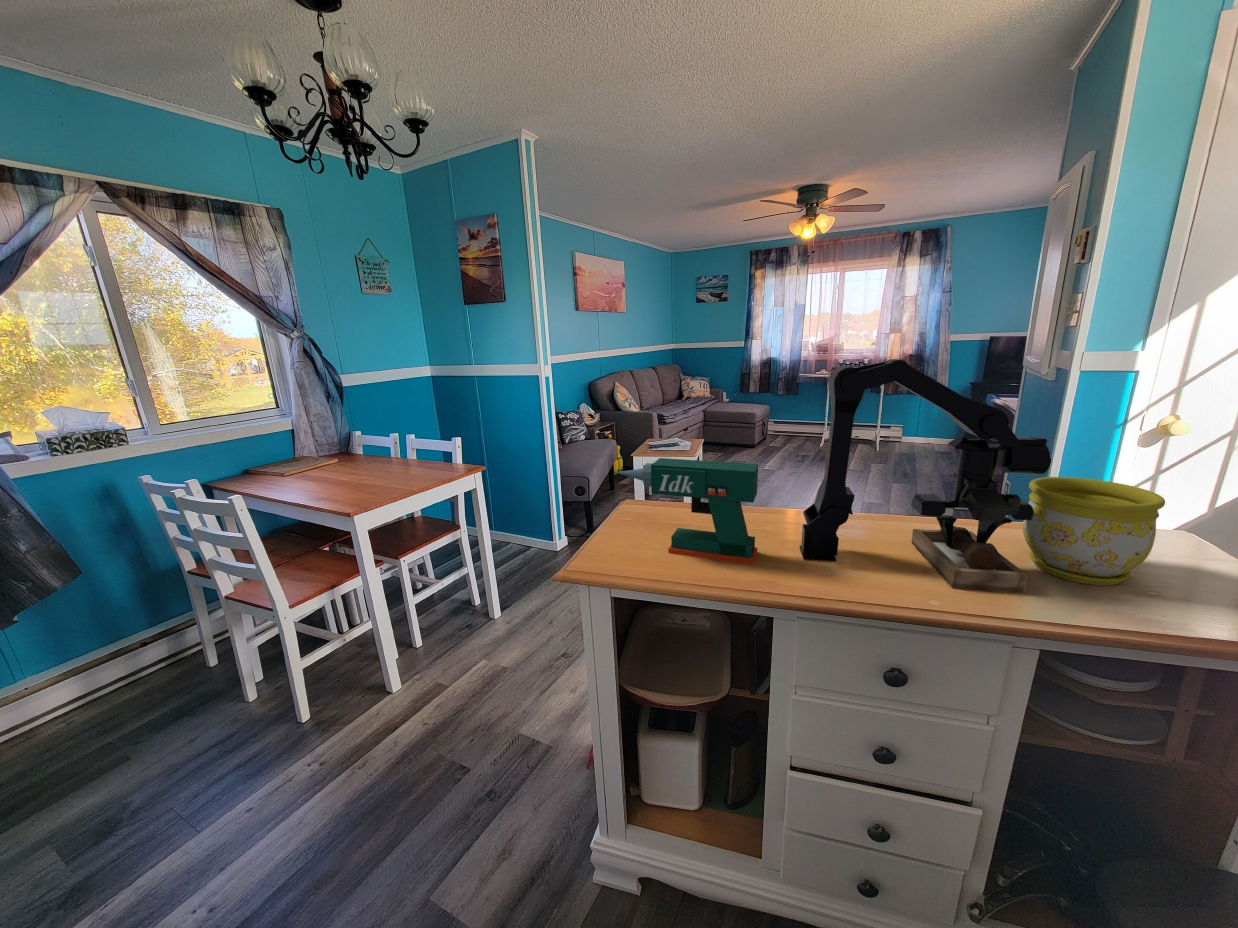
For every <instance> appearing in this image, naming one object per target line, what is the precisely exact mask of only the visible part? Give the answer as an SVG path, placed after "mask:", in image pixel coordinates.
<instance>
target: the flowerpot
mask: <svg viewBox="0 0 1238 928" xmlns="http://www.w3.org/2000/svg"><path fill="white" fill-rule="evenodd" d="M1028 487H1029V489H1030V490H1031V493H1030V494H1029V495H1028V498H1029V501H1028V502H1027V503H1028V504H1030V505H1031V506H1032V507H1033V510H1034V514H1033V519H1032V520H1022V521H1023V522H1022V534H1023V537H1024V540H1025V542H1026V545H1027V546H1028V548H1029V549H1030V551H1029V552H1028V555H1027V556H1028V557H1029V558H1030V560H1031V561H1032V562H1033V564H1034V565H1035V567H1037V568H1039V570H1042V571H1043V572H1045V573H1047V574H1050V575H1052V576H1054V577H1057V578H1061V579H1063V580H1067V581H1071V582H1074V583H1080V584H1084V585H1085V584H1086V585H1092V586H1115V585H1118V584H1120V583H1122V582H1124V581H1127V580H1129V579H1130V578H1131V572H1130V571H1133V570H1134V569H1136V568H1137V567H1139V566H1140V565H1141V564H1142V563H1143V562H1145V561H1146V559H1147V558H1148V557H1149V555H1150V553H1151V552H1152V550H1153V546H1154V543H1155V541H1156V533H1157V519H1158V518H1159V516H1160V514H1159V512H1158V511H1159V510H1160V509H1163V507H1165V505H1166V499H1165V497H1163V496H1161V495H1159V494H1158V493H1156V492H1154V491H1151V490H1148V489H1144V488H1141V487H1137V486H1134V485H1130V484H1124V483H1119V482H1114V481H1107V480H1103V479H1102V480H1101V479H1092V478H1086V477H1085V478H1083V477H1070V476H1048V477H1046V476H1044V477H1038V478H1034V479H1031V481H1029V484H1028Z"/></svg>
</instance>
